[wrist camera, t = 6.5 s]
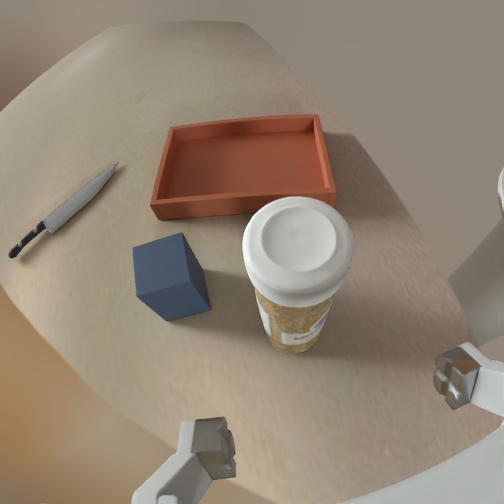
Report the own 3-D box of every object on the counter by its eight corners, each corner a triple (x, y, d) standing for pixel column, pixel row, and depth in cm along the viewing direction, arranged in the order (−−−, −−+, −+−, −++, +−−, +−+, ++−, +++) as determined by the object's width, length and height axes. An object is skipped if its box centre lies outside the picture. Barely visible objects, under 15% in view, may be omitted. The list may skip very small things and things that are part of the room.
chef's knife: (129, 174, 34) (119, 162, 35) (126, 168, 33) (116, 156, 34) (15, 272, 29) (10, 256, 30) (10, 269, 28) (5, 252, 29)
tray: (317, 131, 34) (318, 114, 32) (333, 209, 29) (336, 192, 26) (175, 142, 36) (169, 127, 33) (158, 220, 30) (149, 205, 28)
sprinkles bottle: (309, 362, 22) (337, 309, 10) (254, 342, 23) (220, 268, 12) (328, 309, 24) (366, 209, 12) (276, 291, 25) (266, 180, 14)
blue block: (202, 268, 27) (182, 231, 22) (211, 310, 25) (191, 281, 20) (160, 280, 27) (132, 247, 22) (166, 321, 25) (136, 296, 20)
